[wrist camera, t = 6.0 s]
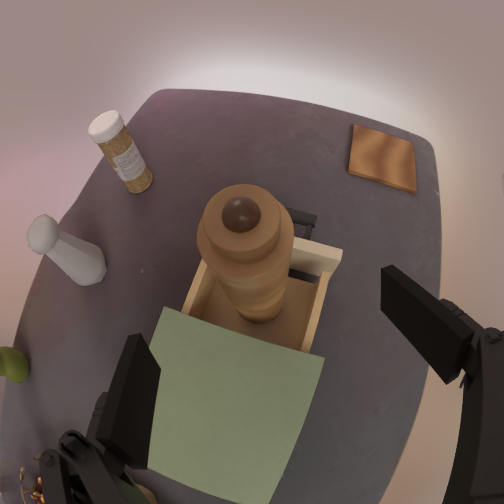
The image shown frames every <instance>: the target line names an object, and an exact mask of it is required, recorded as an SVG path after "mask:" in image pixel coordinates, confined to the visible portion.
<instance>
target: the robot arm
mask: <svg viewBox="0 0 504 504" xmlns="http://www.w3.org/2000/svg"><path fill="white" fill-rule="evenodd" d="M381 311H382V312H383V313H384V314H385V315H386V316H387V317H388V318H389V319H390V320H391V321H392V323H393V324H394V325H395V326H396V327H397V328H398V329H399V330H400V331H401V333H402V334H403V335H404V336H405V337H406V338H407V339H408V340H409V342H410V343H411V344H412V345H413V346H414V347H415V348H416V350H417V351H418V352H419V353H420V354H421V355H422V356H423V358H424V359H425V360H426V361H427V362H428V363H429V365H430V366H431V367H432V368H433V369H434V371H435V372H436V373H437V374H438V375H439V377H440V378H441V379H442V380H443V381H444V383H445V384H446V385H447V384H449V383H450V382H452V381H453V380H455V379H456V378H457V377H458V376H459V374H460V371H461V369H463V370H464V371H465V372H466V373H465V375H464V377H463V379H462V382H461V384H460V388H462V385H463V383H464V391H463V404H462V414H461V423H460V430H459V437H458V443H457V448H456V453H455V458H454V463H453V467H452V471H451V475H450V479H449V483H448V486H447V490H446V493H445V496H444V499H443V502H442V504H504V331H500V330H498V329H496V328H491V327H490V328H486V329H484V328H483V327H482V326H480V325H479V324H478V323H477V322H475V321H474V320H473V319H472V318H471V317H470V316H469V315H467V314H466V313H464V311H462V310H461V309H459V307H457V306H456V305H455V304H454V303H453V302H450V301H448V300H446V299H441V300H437V299H436V298H435V297H434V296H432V295H431V294H430V293H429V292H427V291H426V290H425V289H424V288H422V287H421V286H420V285H419V284H417V283H416V282H415V281H413V280H412V279H411V278H410V277H408V276H407V275H406V274H404V273H403V272H402V271H400V270H399V269H398V268H396V267H395V266H394V265H389V266H387V267H384V268H381ZM160 374H161V368H160V366H159V365H158V363H157V361H156V360H155V358H154V356H153V354H152V353H151V351H150V349H149V347H148V346H147V344H146V342H145V340H144V339H143V337H142V335H141V333H139V334H134V335H128V338H127V341H126V343H125V346H124V349H123V351H122V354H121V357H120V359H119V362H118V365H117V368H116V371H115V374H114V376H113V379H112V382H111V385H110V388H109V391H108V392H103V393H102V394H101V396H100V397H99V398H98V400H97V402H96V405H95V408H94V409H95V410H94V411H93V415H92V416H93V417H92V418H91V421H90V424H89V427H88V431H87V434H86V437H84V436H83V435H82V434H81V433H79V432H78V431H76V430H70V431H67V432H65V433H64V434H63V435H62V436H61V438H60V440H59V444H58V445H59V449H60V450H61V451H62V452H63V453H64V454H61V455H60V454H59V453H58V452H57V451H55V450H53V449H48V450H46V451H44V452H43V453H42V454H41V457H40V461H39V465H40V477H41V485H42V493H43V499H44V504H152V503H151V502H150V501H149V500H148V499H147V497H146V496H145V495H144V494H143V492H142V491H141V490H140V489H139V487H138V486H137V485H136V483H135V482H134V481H133V479H132V478H131V476H130V475H129V474H128V472H126V471H125V470H124V468H125V464H126V465H128V466H129V467H130V468H132V469H143V470H147V467H148V457H149V448H150V440H151V432H152V425H153V418H154V411H155V404H156V398H157V392H158V386H159V380H160Z"/></svg>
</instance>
